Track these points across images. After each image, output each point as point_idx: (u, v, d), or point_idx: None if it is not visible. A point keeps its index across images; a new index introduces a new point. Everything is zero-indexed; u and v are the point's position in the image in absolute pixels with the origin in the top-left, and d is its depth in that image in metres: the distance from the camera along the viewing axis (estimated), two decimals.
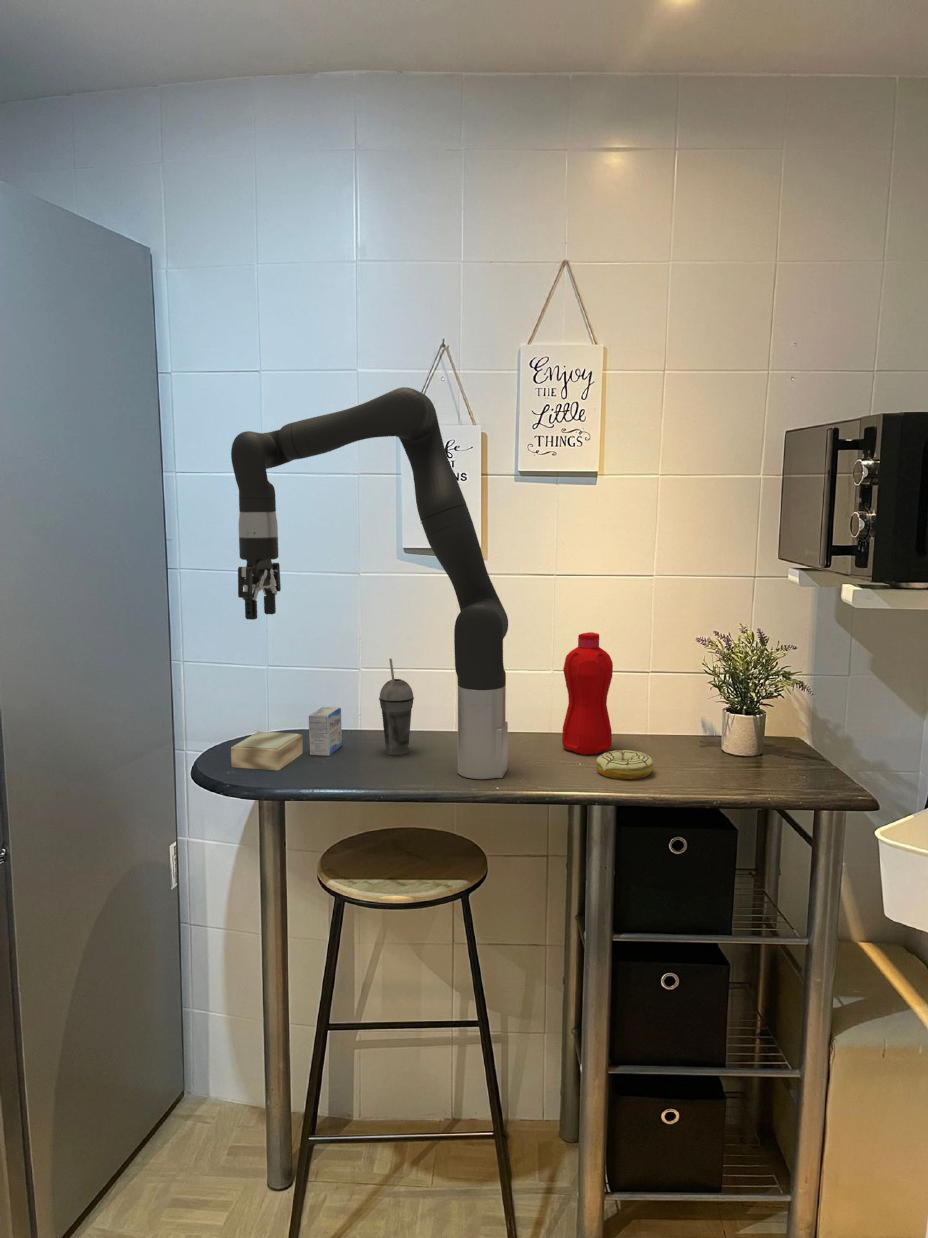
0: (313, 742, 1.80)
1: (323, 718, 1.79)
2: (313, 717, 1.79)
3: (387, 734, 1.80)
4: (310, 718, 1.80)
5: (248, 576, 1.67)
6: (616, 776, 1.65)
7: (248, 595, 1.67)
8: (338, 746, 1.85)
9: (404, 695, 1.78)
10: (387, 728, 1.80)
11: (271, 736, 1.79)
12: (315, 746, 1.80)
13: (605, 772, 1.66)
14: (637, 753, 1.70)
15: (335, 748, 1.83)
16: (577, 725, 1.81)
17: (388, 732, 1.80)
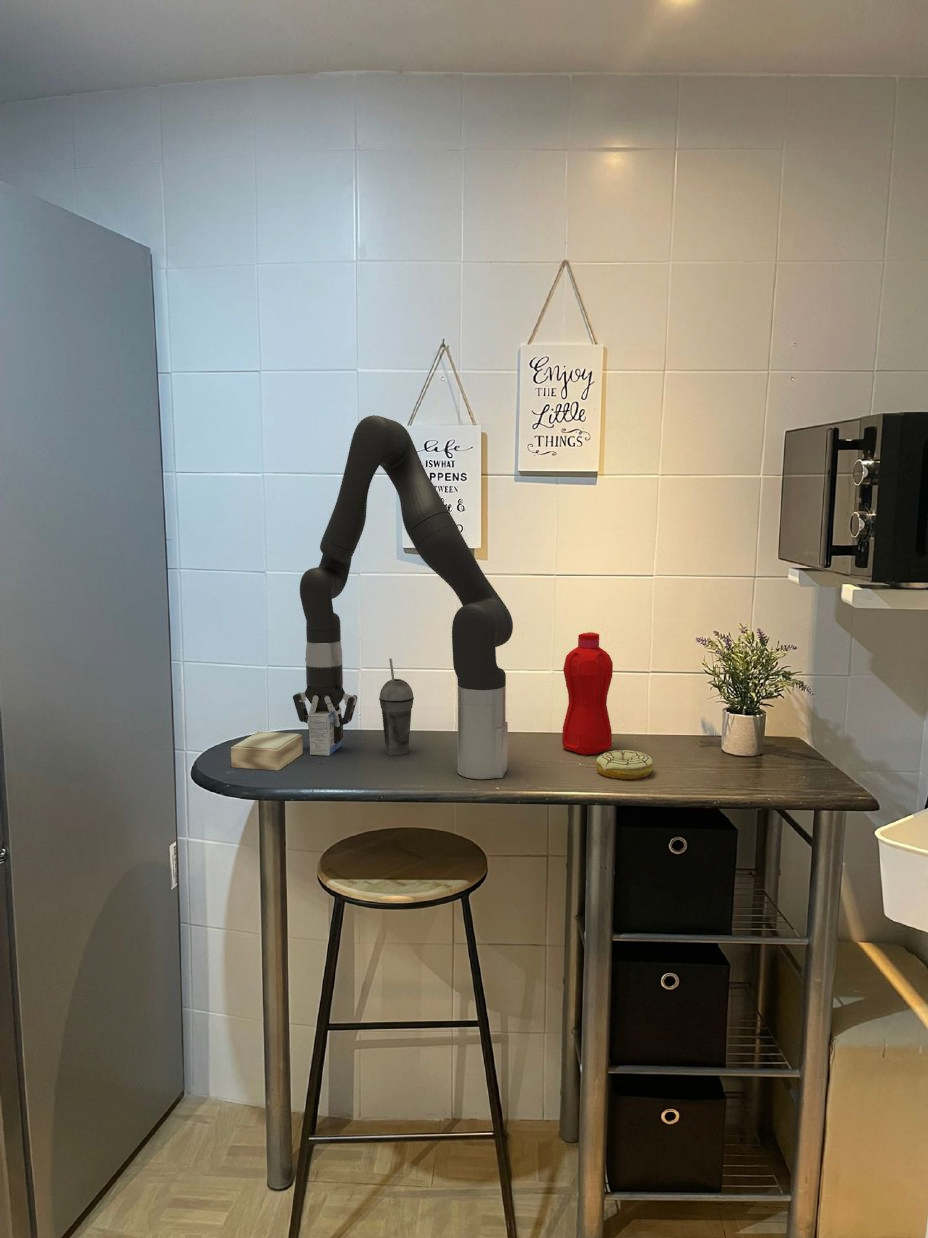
0: (313, 742, 1.80)
1: (323, 717, 1.79)
2: (313, 716, 1.79)
3: (387, 734, 1.80)
4: (310, 718, 1.80)
5: (355, 704, 1.82)
6: (616, 776, 1.65)
7: (350, 720, 1.83)
8: (338, 746, 1.85)
9: (404, 696, 1.78)
10: (387, 728, 1.80)
11: (271, 736, 1.79)
12: (315, 745, 1.80)
13: (605, 772, 1.66)
14: (637, 753, 1.70)
15: (335, 748, 1.83)
16: (577, 725, 1.81)
17: (388, 732, 1.80)
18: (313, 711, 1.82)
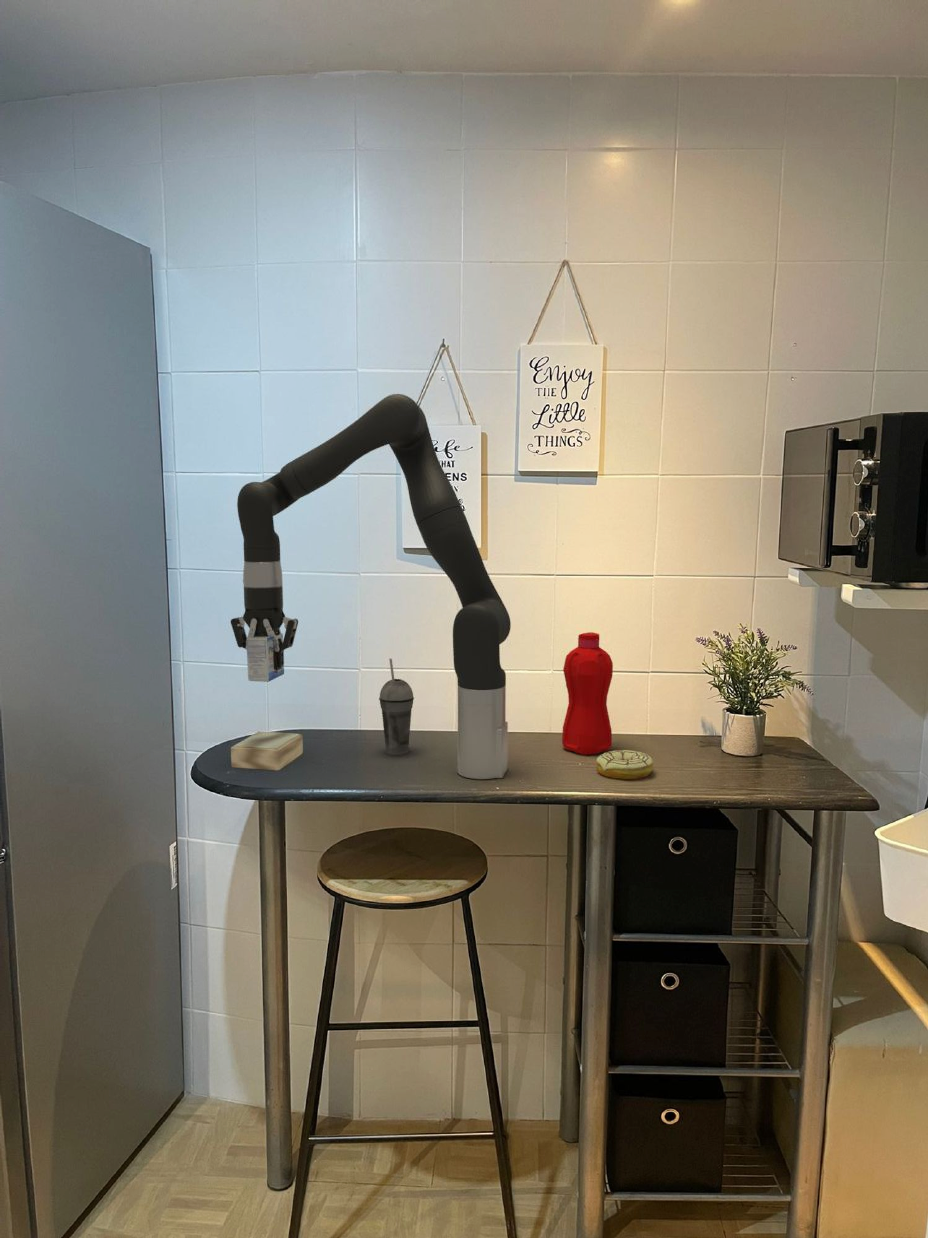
0: (251, 667, 1.71)
1: (261, 641, 1.70)
2: (251, 640, 1.71)
3: (387, 734, 1.80)
4: (248, 641, 1.71)
5: (296, 628, 1.73)
6: (616, 776, 1.65)
7: (291, 645, 1.74)
8: (279, 673, 1.76)
9: (404, 696, 1.78)
10: (387, 728, 1.80)
11: (271, 736, 1.79)
12: (253, 671, 1.71)
13: (605, 772, 1.66)
14: (637, 753, 1.70)
15: (275, 675, 1.74)
16: (577, 725, 1.81)
17: (388, 732, 1.80)
18: (251, 635, 1.73)
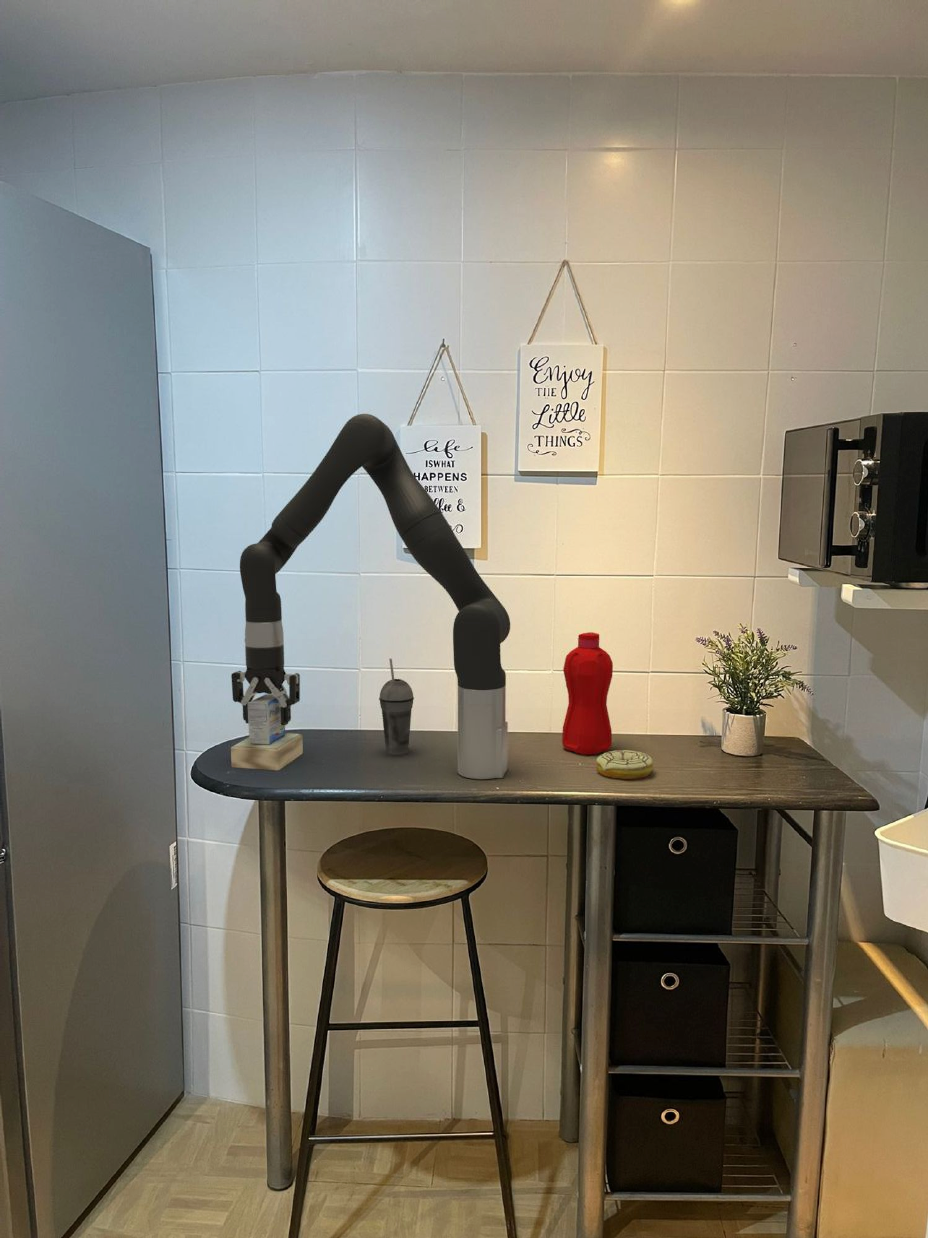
0: (252, 730, 1.73)
1: (262, 705, 1.72)
2: (252, 704, 1.72)
3: (387, 734, 1.80)
4: (249, 705, 1.72)
5: (299, 682, 1.75)
6: (616, 776, 1.65)
7: (299, 700, 1.75)
8: (280, 735, 1.78)
9: (404, 696, 1.78)
10: (387, 728, 1.80)
11: None
12: (254, 734, 1.73)
13: (605, 772, 1.66)
14: (637, 753, 1.70)
15: (276, 737, 1.76)
16: (577, 725, 1.81)
17: (388, 732, 1.80)
18: (250, 692, 1.74)
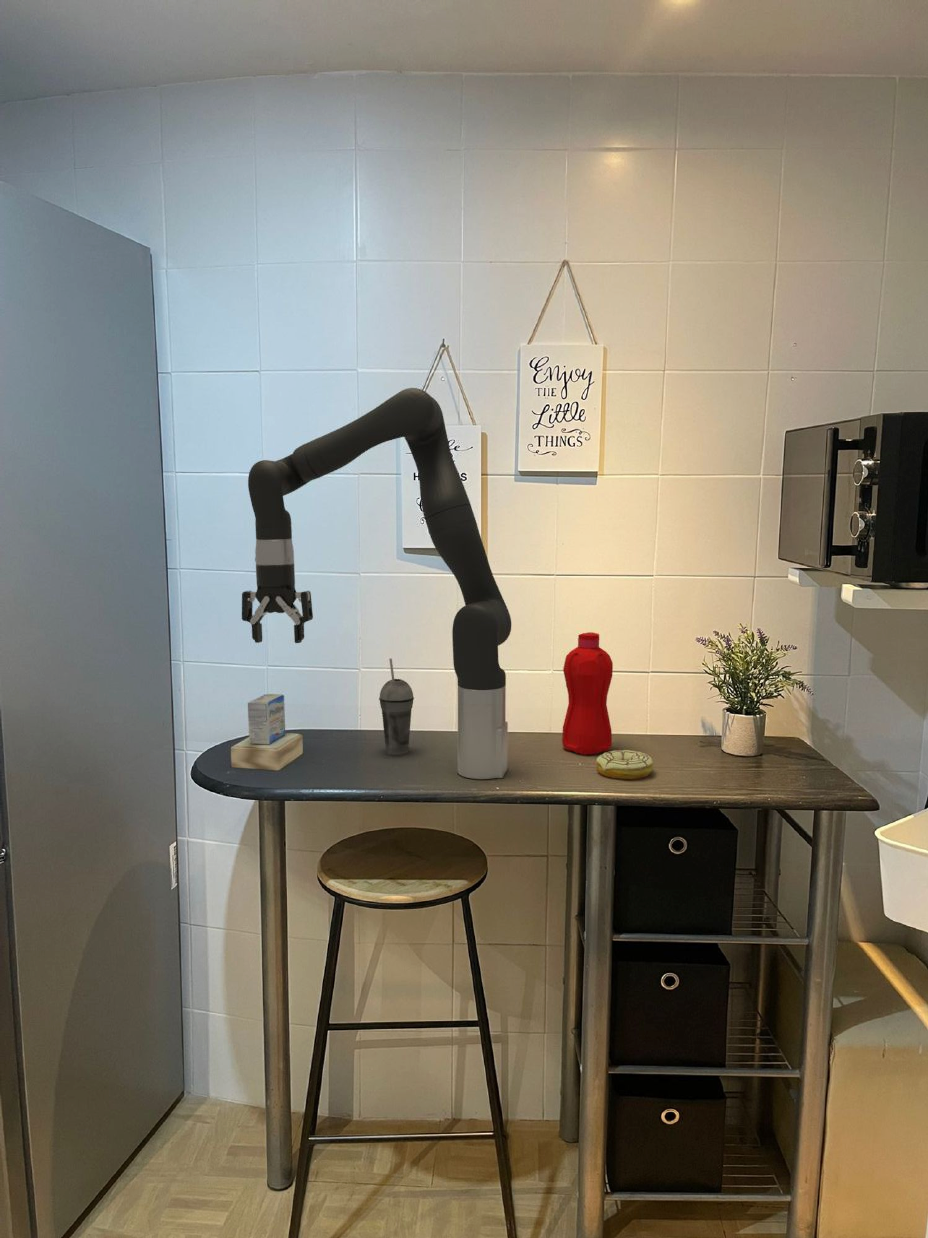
0: (252, 730, 1.73)
1: (262, 705, 1.72)
2: (252, 704, 1.72)
3: (387, 734, 1.80)
4: (249, 705, 1.72)
5: (310, 599, 1.75)
6: (616, 776, 1.65)
7: (312, 617, 1.75)
8: (280, 735, 1.78)
9: (404, 696, 1.78)
10: (387, 728, 1.80)
11: None
12: (254, 734, 1.73)
13: (605, 772, 1.66)
14: (637, 753, 1.70)
15: (276, 737, 1.76)
16: (577, 725, 1.81)
17: (388, 732, 1.80)
18: (260, 611, 1.74)
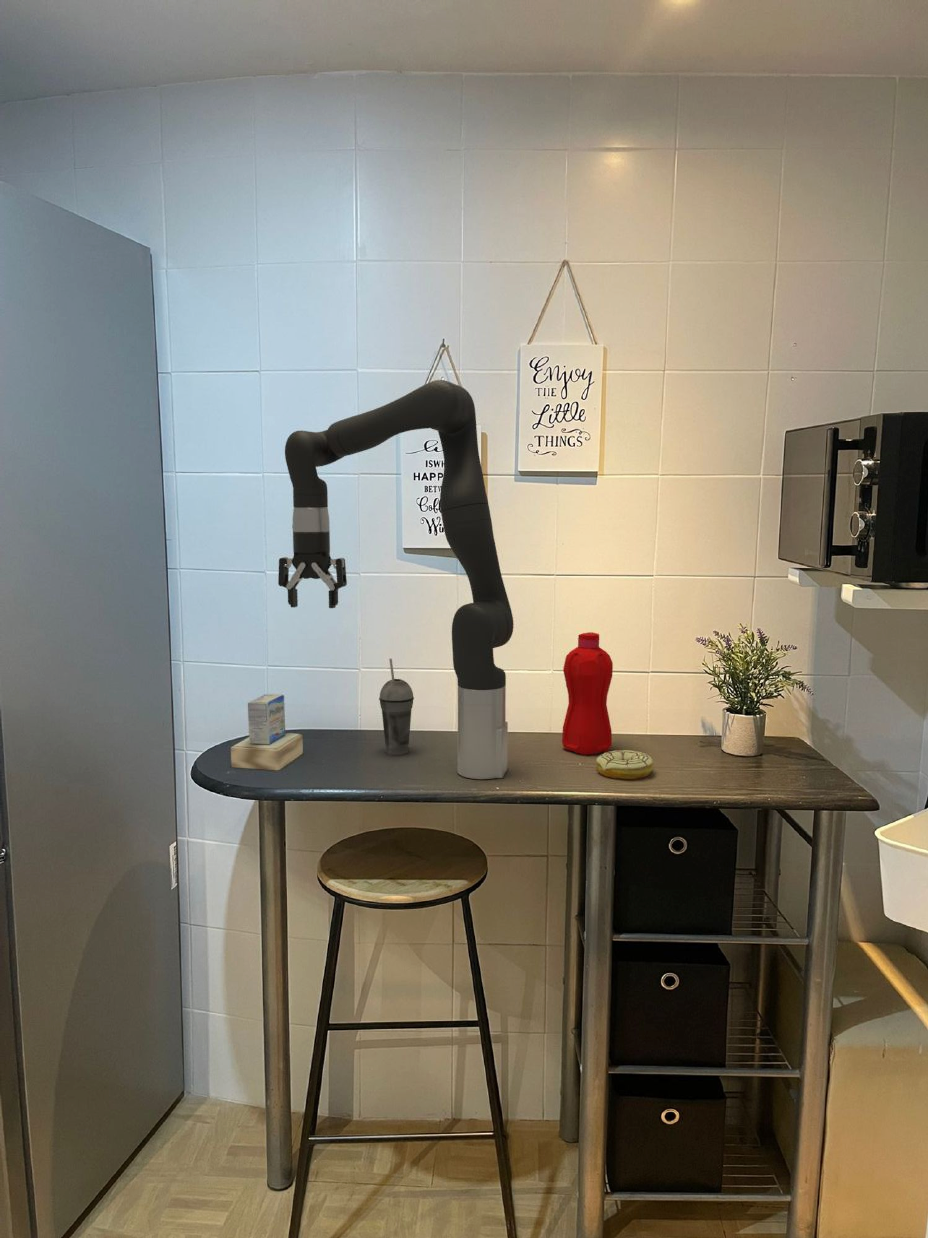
0: (252, 730, 1.73)
1: (262, 705, 1.72)
2: (252, 704, 1.72)
3: (387, 734, 1.80)
4: (249, 705, 1.72)
5: (345, 566, 1.81)
6: (616, 776, 1.65)
7: (346, 584, 1.81)
8: (280, 735, 1.78)
9: (404, 696, 1.78)
10: (387, 728, 1.80)
11: None
12: (254, 734, 1.73)
13: (605, 772, 1.66)
14: (637, 753, 1.70)
15: (276, 737, 1.76)
16: (577, 725, 1.81)
17: (388, 732, 1.80)
18: (296, 577, 1.81)
